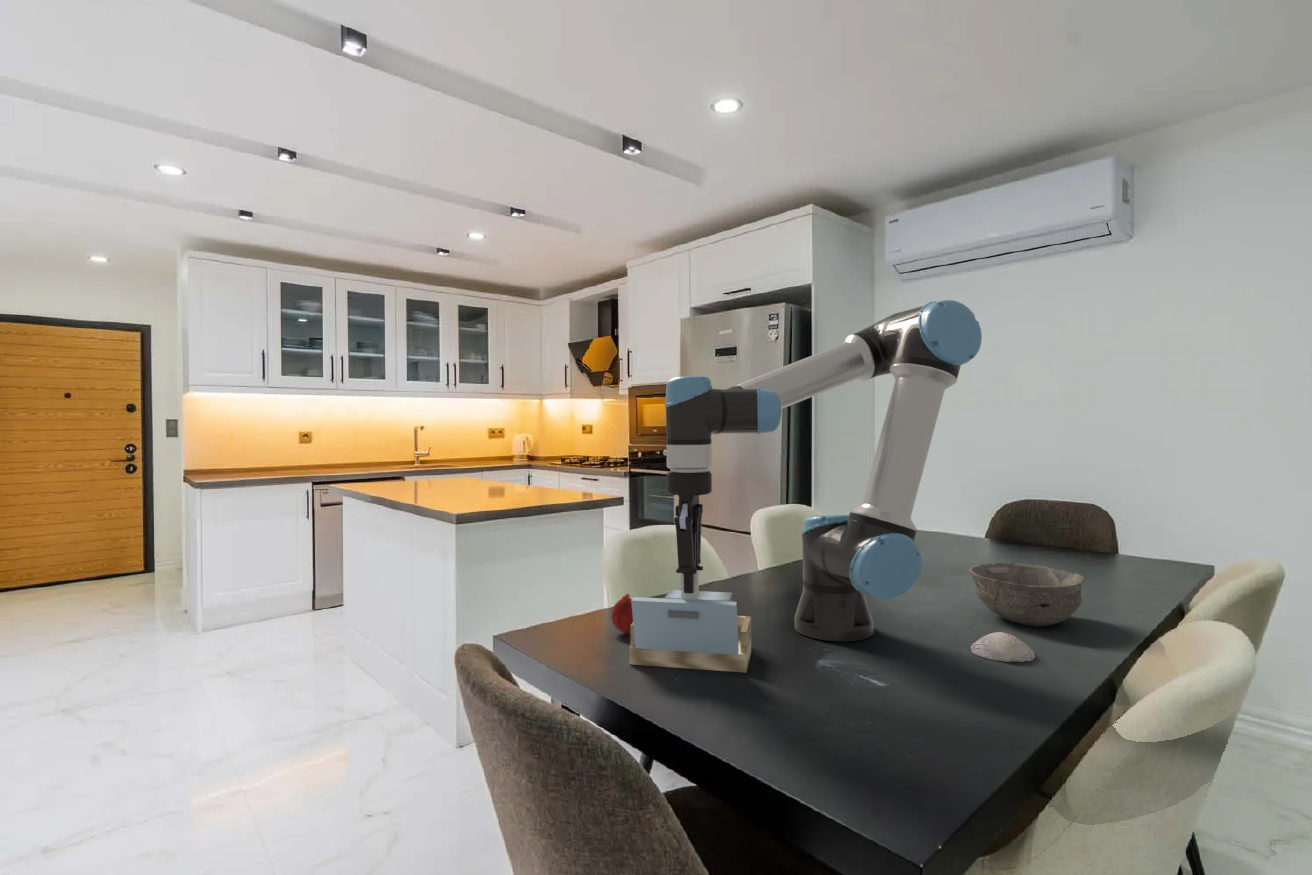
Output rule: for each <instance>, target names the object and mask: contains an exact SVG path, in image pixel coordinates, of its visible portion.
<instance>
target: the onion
mask: <svg viewBox="0 0 1312 875" xmlns="http://www.w3.org/2000/svg"><path fill="white" fill-rule="evenodd" d="M631 600H632V598H630V594H629V593H628V592H627V593H624V594H623V595H622V597H621V599H619V600H618V601H616V603H615V604H614V605H613V607H612V610H611V621H612V624H613V626H614V627H615V628H616V629H617V630H618V631H619V632H621V633H622V634H624V635H628V634H630V625H631V624H632V623H633V614H632V602H631Z"/></svg>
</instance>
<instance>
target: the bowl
mask: <svg viewBox="0 0 1312 875" xmlns="http://www.w3.org/2000/svg"><path fill="white" fill-rule="evenodd" d="M969 574H970V576H971V577H972V580H973V585H974V592H975V594H976V597H977V598H978V599H979V600H980V601H981V602H982V604H984V605H985V606H986V608H987V609H989V610H990V611H991V612H993V613H994V614H996V615H998V616H999V617H1001V618H1003V619H1005V620H1007V621H1011V622H1012V623H1017V624H1019V625H1024V626H1028V627H1048V626H1053V625H1055V624H1056V625H1058V624H1059V623H1061V622H1063V621H1065V620H1067V619H1068V618H1071V616H1072V615H1073V614H1074V613H1075V612H1076V611H1078V609H1079V608H1080V606H1081V605H1082V602H1083V599H1082V586H1083V584H1084V581H1085V576H1083V575H1081V574H1079V573H1077V572H1075V571H1073V570H1072V571H1071V570H1066V569H1058V568H1049V567H1048V566H1045V565H1037V564H1029V563H1013V562H993V563H985V564H982V563H981V564H978V565H973V566H972V567H971V568H970V569H969Z"/></svg>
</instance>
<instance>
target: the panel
mask: <svg viewBox="0 0 1312 875" xmlns="http://www.w3.org/2000/svg"><path fill="white" fill-rule="evenodd" d="M631 599H632V600H631V602H632V614H633V626H634V638H635V648H639V649H655V650H670V651H685V652H701V653H716V654H731V655H738V651H739V650H738V624H737V616H738V606H737V604H738V602H737V601H732V602H728V601H707V600H686V599H665V597H663V598H662V597H661V598H659V597H643V596H642V597H641V596H634V597H632V598H631Z"/></svg>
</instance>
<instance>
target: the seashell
mask: <svg viewBox="0 0 1312 875" xmlns="http://www.w3.org/2000/svg"><path fill="white" fill-rule="evenodd" d="M970 650H971V652H972V653H973V655H976V656H978V657H982V658H983V659H984V658H985V659H988V660H992V661H999V662H1000V661H1001V662H1005V663H1011V662H1017V663H1018V662H1019V663H1024V662H1030V661H1034V659H1035V658H1036V654H1035V650H1033V649H1032V648H1031V647H1030V646H1029V645H1027V643H1025V642H1024V641H1022V640H1021V639H1019V638H1018V637H1016V636H1015V635H1012V634H1009V633H1006V632H1002V631H998V632H997V631H995V632H992V633H988V634H986V635H984V636H981V637H980V638H978V640H976V641H975V642H973V643H972V644H971V645H970Z"/></svg>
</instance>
